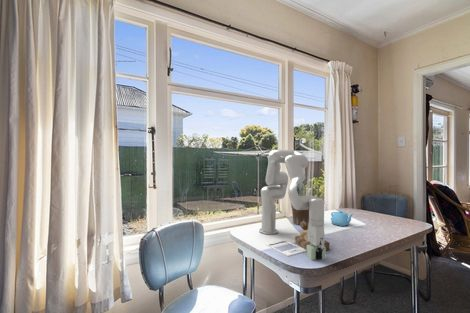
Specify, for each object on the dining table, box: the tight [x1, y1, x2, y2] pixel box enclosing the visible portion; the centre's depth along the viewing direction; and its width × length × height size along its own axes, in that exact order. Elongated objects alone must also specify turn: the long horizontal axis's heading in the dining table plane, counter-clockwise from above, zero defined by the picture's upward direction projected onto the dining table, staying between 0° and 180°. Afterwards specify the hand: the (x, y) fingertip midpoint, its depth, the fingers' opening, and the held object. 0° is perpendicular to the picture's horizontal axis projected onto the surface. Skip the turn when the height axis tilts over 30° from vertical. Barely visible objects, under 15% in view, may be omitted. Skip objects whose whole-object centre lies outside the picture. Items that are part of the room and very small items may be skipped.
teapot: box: [330, 210, 354, 227], centre depth 191 cm, size 13×11×18 cm
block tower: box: [294, 229, 330, 252], centre depth 145 cm, size 14×14×8 cm
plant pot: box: [290, 203, 309, 226], centre depth 193 cm, size 16×16×16 cm
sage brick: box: [306, 244, 327, 261], centre depth 130 cm, size 5×8×6 cm, turn 102°
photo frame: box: [266, 240, 307, 257], centre depth 142 cm, size 15×1×18 cm
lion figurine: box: [299, 221, 308, 230], centre depth 164 cm, size 15×5×9 cm, turn 70°
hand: (315, 256), depth 130 cm, fingers closed on sage brick, 4 cm apart
